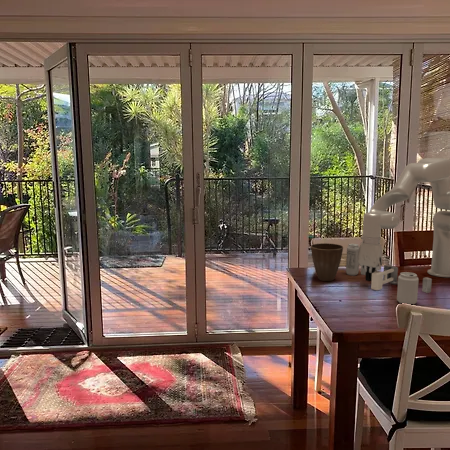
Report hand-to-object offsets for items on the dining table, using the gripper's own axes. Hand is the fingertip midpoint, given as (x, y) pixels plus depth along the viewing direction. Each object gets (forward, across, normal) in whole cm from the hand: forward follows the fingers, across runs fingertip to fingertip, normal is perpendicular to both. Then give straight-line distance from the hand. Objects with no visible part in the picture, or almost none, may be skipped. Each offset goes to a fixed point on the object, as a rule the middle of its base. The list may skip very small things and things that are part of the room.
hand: (369, 280), depth 193 cm
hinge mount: (+3, +2, +14) cm, 14 cm away
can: (+3, +22, -6) cm, 23 cm away
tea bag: (+3, -12, +17) cm, 21 cm away
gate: (+3, +4, +6) cm, 8 cm away
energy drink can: (+3, -18, +11) cm, 21 cm away
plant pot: (+3, -20, -6) cm, 21 cm away
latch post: (+3, +19, +14) cm, 24 cm away
